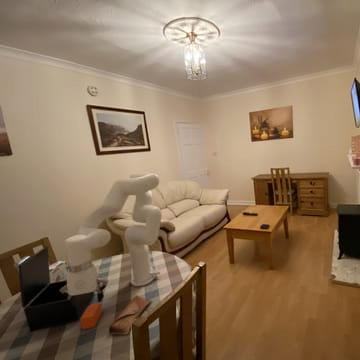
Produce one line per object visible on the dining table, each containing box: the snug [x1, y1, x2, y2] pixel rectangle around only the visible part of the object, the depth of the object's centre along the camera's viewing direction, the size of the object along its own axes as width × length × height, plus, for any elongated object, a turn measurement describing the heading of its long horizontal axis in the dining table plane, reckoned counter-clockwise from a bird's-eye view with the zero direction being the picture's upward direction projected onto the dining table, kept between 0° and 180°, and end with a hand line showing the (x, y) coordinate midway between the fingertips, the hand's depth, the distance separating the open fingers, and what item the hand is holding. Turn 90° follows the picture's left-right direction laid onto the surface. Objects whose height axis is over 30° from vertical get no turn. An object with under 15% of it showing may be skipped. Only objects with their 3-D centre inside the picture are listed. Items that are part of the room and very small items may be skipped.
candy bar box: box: [49, 260, 69, 283], centre depth 106 cm, size 11×5×16 cm, turn 168°
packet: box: [80, 302, 103, 330], centre depth 90 cm, size 4×8×5 cm, turn 14°
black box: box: [23, 280, 96, 332], centre depth 95 cm, size 18×17×11 cm
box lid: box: [13, 246, 50, 309], centre depth 90 cm, size 18×17×6 cm
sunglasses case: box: [108, 294, 152, 336], centre depth 91 cm, size 18×7×7 cm, turn 173°
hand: (87, 302), depth 88 cm, fingers open, 9 cm apart
